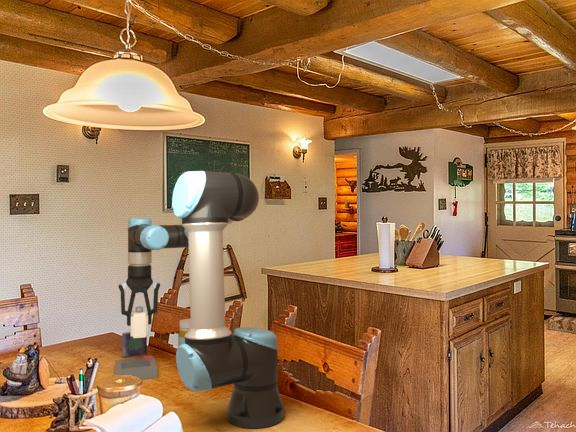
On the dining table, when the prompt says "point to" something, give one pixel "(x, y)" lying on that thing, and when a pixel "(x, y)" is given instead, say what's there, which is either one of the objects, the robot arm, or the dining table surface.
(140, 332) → the cream rectangular container
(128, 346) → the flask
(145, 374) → the socket
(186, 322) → the bottle
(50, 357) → the dining table surface
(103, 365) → the dining table surface
